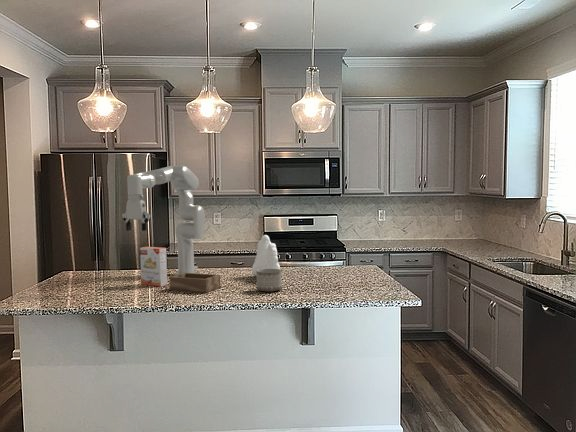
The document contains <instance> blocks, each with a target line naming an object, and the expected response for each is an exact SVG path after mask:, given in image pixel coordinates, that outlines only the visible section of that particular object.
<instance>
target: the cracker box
mask: <svg viewBox="0 0 576 432" xmlns="http://www.w3.org/2000/svg"><path fill="white" fill-rule="evenodd" d="M139 252H140V253H139V254H140V257H139V258H140V279H141V285H143V286H149V287H158V288H161V287H165V286H168V266H167V264H168V263H167V259H168V258H167V247H160V246H159V247H158V246H157V247H156V246H142V247H140V248H139Z"/></svg>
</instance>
